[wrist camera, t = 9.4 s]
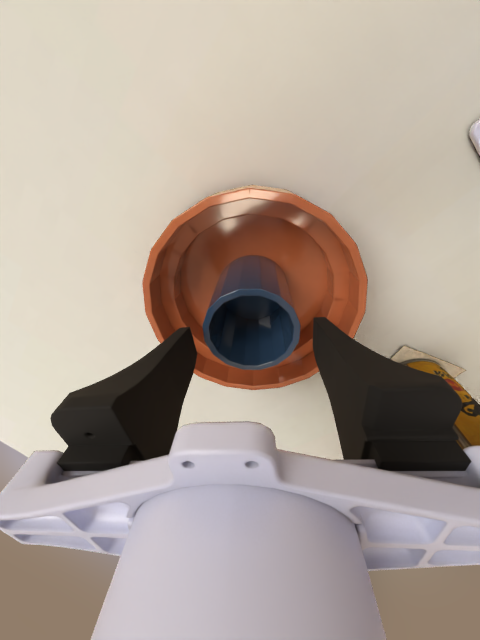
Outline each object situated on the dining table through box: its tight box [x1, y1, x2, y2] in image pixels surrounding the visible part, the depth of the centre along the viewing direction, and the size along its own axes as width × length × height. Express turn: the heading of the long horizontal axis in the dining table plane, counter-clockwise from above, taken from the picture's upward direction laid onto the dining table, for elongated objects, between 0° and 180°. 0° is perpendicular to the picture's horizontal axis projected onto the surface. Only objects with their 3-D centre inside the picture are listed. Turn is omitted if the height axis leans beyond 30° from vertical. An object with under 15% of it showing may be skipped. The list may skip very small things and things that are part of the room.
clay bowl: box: [143, 185, 368, 390], centre depth 19 cm, size 15×15×4 cm
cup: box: [202, 255, 301, 370], centre depth 17 cm, size 6×6×6 cm
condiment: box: [391, 346, 480, 449], centre depth 20 cm, size 7×8×12 cm
